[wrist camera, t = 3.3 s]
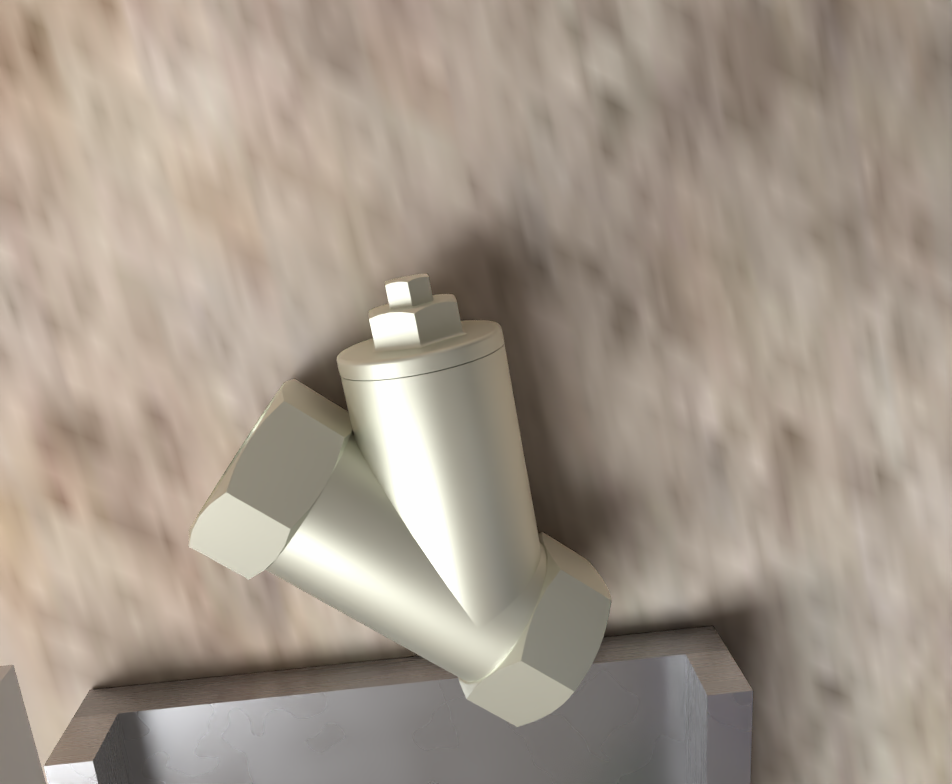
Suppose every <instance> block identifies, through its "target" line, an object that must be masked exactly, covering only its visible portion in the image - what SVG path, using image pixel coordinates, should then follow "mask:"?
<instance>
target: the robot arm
mask: <svg viewBox="0 0 952 784" xmlns="http://www.w3.org/2000/svg"><path fill="white" fill-rule="evenodd" d="M0 784H46V782H45V778H44V775H43V771H42V767H41V764H40V760H39V756H38V753H37V749H36V746H35V742H34V738H33V735H32V731H31V727H30V724H29V720H28V716H27V713H26V709H25V705H24V702H23V698H22V694H21V691H20V687H19V683H18V680H17V676H16V672H15V669H14V665H8V666H0Z"/></svg>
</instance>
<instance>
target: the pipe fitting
mask: <svg viewBox="0 0 952 784" xmlns="http://www.w3.org/2000/svg"><path fill="white" fill-rule="evenodd" d="M385 287H386V292H387V297H388V301H389V304H385V305H382V306H379V307H376V308H374V309H371V310H370V311H369V321H370V326H371V331H372V335H373V338H371V339H368V340H366V341H363V342H360V343H357V344H355V345H353V346H351V347H349V348H347V349H345V350H343V351H342V352H341V353H340V354H339V355H338V356H337V364H338V369H339V373H340V376H341V381H342V385H343V389H344V394H345V398H346V403H347V407H348V411H346V410H344V409H343V408H341V407H340V406H338V405H336V404H335V403H333V402H331V401H330V400H328V399H327V398H325V397H323V396H322V395H320V394H319V393H317V392H315V391H314V390H312V389H310V388H309V387H307V386H306V385H304V384H302V383H301V382H299V381H298V380H296V379H292V380H289V381H287V382H285V383H283V385H282V386H281V387H280V389H279V390H278V392H277V393H276V395H275V396H274V398H273V399H272V401H271V402H270V403H269V405H268V406H267V408H266V409H265V411H264V412H263V414H262V415H261V417H260V419H259V420H258V422H257V423H256V425H255V426H254V428H253V429H252V431H251V432H250V434H249V435H248V437H247V438H246V440H245V441H244V443H243V444H242V446H241V448H240V449H239V451H238V452H237V454H236V455H235V457H234V458H233V460H232V462H231V463H230V465H229V466H228V468H227V469H226V471H225V472H224V474H223V476H222V477H221V479H220V480H219V482H218V483H217V485H216V487H215V488H214V490H213V491H212V493H211V495H210V496H209V498H208V499H207V501H206V503H205V504H204V506H203V507H202V509H201V511H200V512H199V514H198V515H197V517H196V519H195V520H194V522H193V524H192V526H191V527H190V529H189V547H191V548H192V549H194V550H196V551H198V552H200V553H201V554H203V555H205V556H207V557H209V558H211V559H212V560H214V561H216V562H218V563H220V564H221V565H223V566H225V567H227V568H229V569H231V570H232V571H234V572H236V573H238V574H240V575H241V576H243V577H245V578H247V579H251V578H253V577H254V576H256V575H258V574H260V573H261V572H263V571H265V570H266V571H268V572H270V573H272V574H274V575H275V576H277V577H279V578H281V579H283V580H284V581H286V582H288V583H290V584H292V585H293V586H295V587H297V588H299V589H301V590H302V591H304V592H306V593H308V594H310V595H311V596H313V597H315V598H317V599H319V600H320V601H322V602H324V603H326V604H328V605H329V606H331V607H333V608H335V609H337V610H338V611H340V612H342V613H344V614H346V615H347V616H349V617H351V618H353V619H355V620H356V621H358V622H360V623H362V624H364V625H365V626H367V627H369V628H371V629H373V630H374V631H376V632H378V633H380V634H382V635H383V636H385V637H387V638H389V639H391V640H392V641H394V642H396V643H398V644H400V645H401V646H403V647H405V648H407V649H409V650H410V651H412V652H414V653H416V654H418V655H419V656H421V657H423V658H425V659H427V660H428V661H430V662H432V663H434V664H436V665H437V666H439V667H441V668H443V669H445V670H446V671H448V672H450V673H452V674H454V675H456V676H457V677H458V679H459V682H460V685H461V687H462V690H463V692H464V695H465V697H466V699H467V700H469V701H471V702H473V703H474V704H476V705H478V706H480V707H482V708H484V709H485V710H487V711H489V712H491V713H493V714H494V715H496V716H498V717H500V718H502V719H504V720H505V721H507V722H509V723H511V724H513V725H514V726H516V727H519V726H522V725H525V724H528V723H531V722H534V721H536V720H538V719H541V718H543V717H545V716H547V715H549V714H550V713H552V712H553V711H555V710H556V709H558V708H559V707H560V706H561V705H563V704H564V703H565V702H566V701H567V700H568V699H569V698H570V696H571V695H572V694H573V693H574V692H575V690H576V689H577V688H578V686H579V685H580V683H581V682H582V680H583V679H584V677H585V676H586V674H587V672H588V671H589V669H590V667H591V665H592V663H593V661H594V659H595V657H596V655H597V653H598V650H599V648H600V645H601V642H602V640H603V637H604V633H605V630H606V626H607V622H608V617H609V612H610V606H611V596H610V593H609V590H608V588H607V586H606V584H605V582H604V581H603V579H602V578H601V576H600V575H599V573H598V572H597V571H596V569H595V568H594V567H593V566H592V564H591V563H590V562H589V561H588V560H587V559H585V558H584V557H582V556H580V555H579V554H577V553H576V552H574V551H572V550H571V549H569V548H568V547H566V546H564V545H563V544H561V543H559V542H558V541H556V540H555V539H553V538H551V537H550V536H548V535H547V534H545V533H543V532H541V533H539V534H538V531H537V525H536V519H535V514H534V508H533V503H532V497H531V492H530V486H529V480H528V475H527V469H526V464H525V458H524V452H523V447H522V441H521V435H520V430H519V424H518V418H517V413H516V407H515V401H514V396H513V390H512V384H511V379H510V373H509V367H508V362H507V356H506V350H505V345H504V338H503V332H502V327H501V326H500V324H498V323H497V322H494V321H488V320H464V321H460V315H459V310H458V305H457V301H456V298H455V296H454V295H453V294H437V295H432V291H431V286H430V280H429V276H428V274H416V275H410V276H405V277H400V278H396V279H392V280H388V281H386V282H385Z"/></svg>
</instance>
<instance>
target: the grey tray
mask: <svg viewBox="0 0 952 784" xmlns="http://www.w3.org/2000/svg"><path fill="white" fill-rule="evenodd" d="M752 712H753V690H752V688H751V686H750V685H749V683H748V681H747V680H746V678H745V677H744V675H743V673H742V672H741V670H740V669H739V667H738V665H737V664H736V662H735V660H734V659H733V657H732V656H731V654H730V652H729V651H728V649H727V647H726V646H725V644H724V643H723V641H722V639H721V638H720V636H719V635H718V633H717V631H716V630H715V628H714V626H707V627H697V628H688V629H678V630H668V631H659V632H649V633H639V634H629V635H620V636H610V637H603V640H602V642H601V645H600V648H599V650H598V653H597V655H596V657H595V659H594V661H593V663H592V665H591V667H590V669H589V671H588V672H587V674H586V676H585V677H584V679H583V680H582V682H581V683H580V685H579V686H578V688H577V689H576V690H575V692H574V693H573V694H572V695H571V696H570V698H569V699H568V700H567V701H566V702H565V703H564V704H563V705H561V706H560V707H559V708H558V709H556V710H555V711H553V712H552V713H550V714H549V715H547V716H545V717H543V718H541V719H538V720H536V721H534V722H531V723H528V724H525V725H522V726H519V727H516V726H514V725H513V724H511V723H509V722H507V721H505V720H504V719H502V718H500V717H498V716H496V715H494V714H493V713H491V712H489V711H487V710H485V709H484V708H482V707H480V706H478V705H476V704H474V703H473V702H471V701H469V700H467V699H466V697H465V695H464V692H463V690H462V687H461V685H460V682H459V679H458V677H457V676H456V675H454V674H452V673H450V672H448V671H446V670H445V669H443V668H441V667H439V666H437V665H436V664H434V663H432V662H430V661H428V660H427V659H425V658H423V657H421V656H416V657H406V658H396V659H386V660H377V661H367V662H357V663H348V664H338V665H328V666H318V667H309V668H299V669H289V670H280V671H270V672H260V673H250V674H241V675H231V676H221V677H211V678H202V679H192V680H182V681H173V682H163V683H153V684H143V685H134V686H124V687H114V688H105V689H95V690H90V691H89V692H88V694H87V695H86V697H85V699H84V700H83V702H82V704H81V705H80V707H79V709H78V710H77V712H76V714H75V715H74V717H73V719H72V720H71V722H70V724H69V725H68V727H67V728H66V730H65V732H64V733H63V735H62V737H61V738H60V740H59V742H58V743H57V745H56V747H55V748H54V750H53V752H52V753H51V755H50V757H49V758H48V760H47V762H46V763H45V765H44V770H45V773H46V777H47V781H48V784H750V778H751V745H752Z"/></svg>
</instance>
